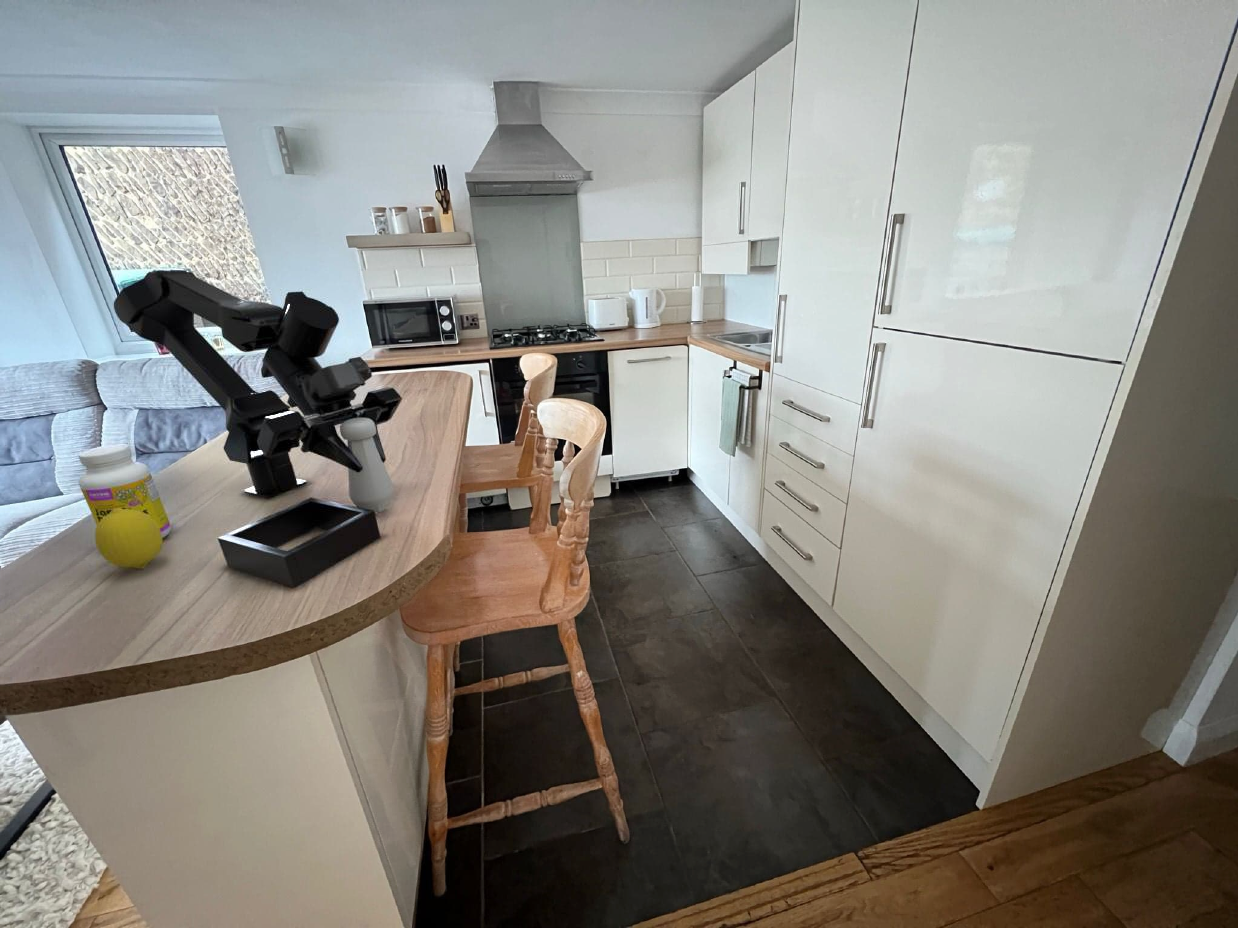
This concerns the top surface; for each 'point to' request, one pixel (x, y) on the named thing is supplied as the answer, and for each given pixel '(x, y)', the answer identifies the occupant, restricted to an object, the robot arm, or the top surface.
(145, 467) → the supplement bottle
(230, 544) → the black rectangular open frame
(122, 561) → the lemon
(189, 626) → the top surface
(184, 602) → the top surface
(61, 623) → the top surface
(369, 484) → the salt shaker
